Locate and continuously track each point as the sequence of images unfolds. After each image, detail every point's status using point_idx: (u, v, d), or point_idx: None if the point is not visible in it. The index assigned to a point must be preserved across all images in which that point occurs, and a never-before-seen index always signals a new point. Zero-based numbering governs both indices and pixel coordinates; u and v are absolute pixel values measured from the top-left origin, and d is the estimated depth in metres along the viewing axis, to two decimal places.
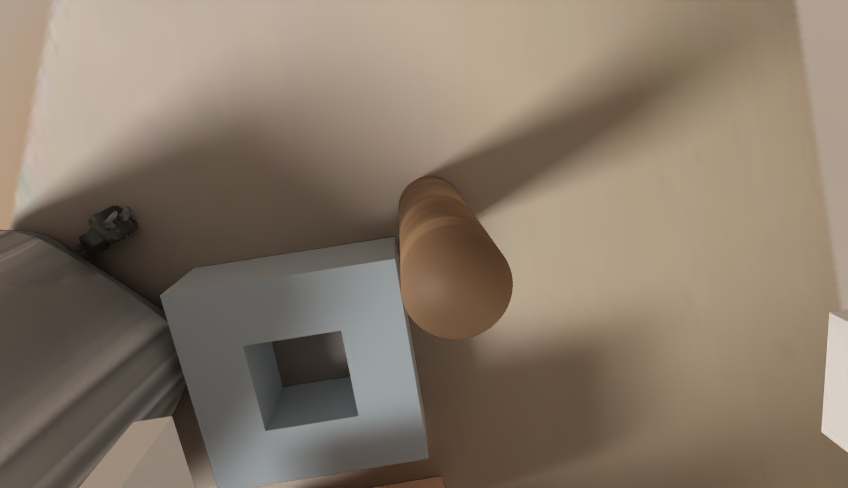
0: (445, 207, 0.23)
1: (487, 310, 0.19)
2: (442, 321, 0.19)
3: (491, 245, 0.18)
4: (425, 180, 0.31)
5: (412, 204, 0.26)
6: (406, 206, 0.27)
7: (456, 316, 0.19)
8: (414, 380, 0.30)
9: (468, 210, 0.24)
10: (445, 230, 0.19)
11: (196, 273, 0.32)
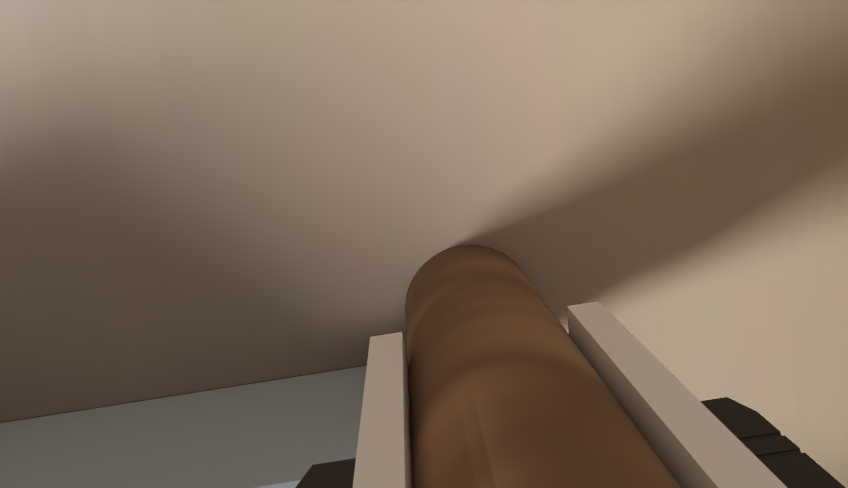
0: (588, 478, 0.06)
1: None
2: None
3: None
4: (463, 261, 0.14)
5: (446, 371, 0.09)
6: (428, 358, 0.11)
7: None
8: None
9: (638, 439, 0.07)
10: None
11: None
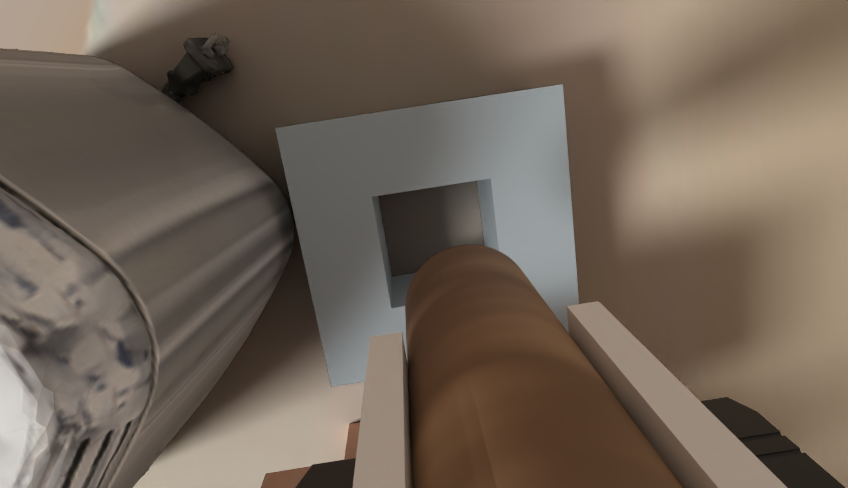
0: (589, 478, 0.06)
1: None
2: None
3: None
4: (463, 260, 0.14)
5: (446, 370, 0.09)
6: (427, 358, 0.10)
7: None
8: (573, 245, 0.25)
9: (639, 439, 0.07)
10: None
11: None
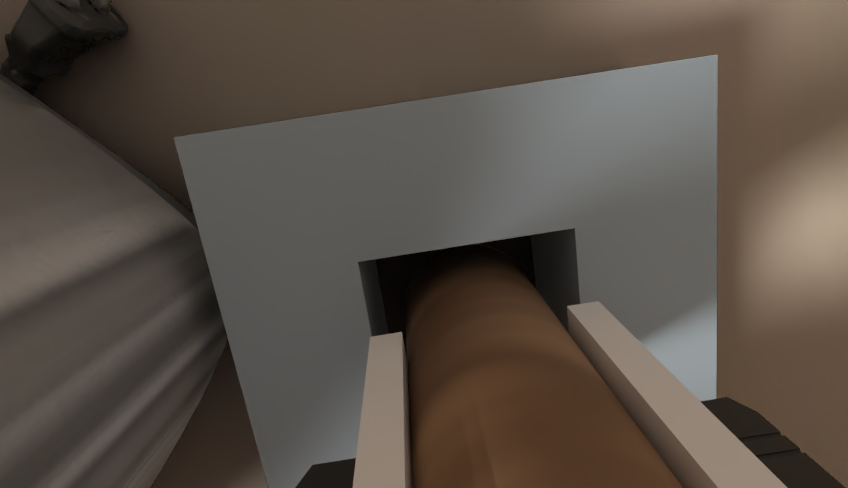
0: (589, 476, 0.06)
1: None
2: None
3: None
4: (463, 259, 0.14)
5: (446, 369, 0.09)
6: (427, 357, 0.11)
7: None
8: (713, 342, 0.14)
9: (639, 437, 0.07)
10: None
11: None
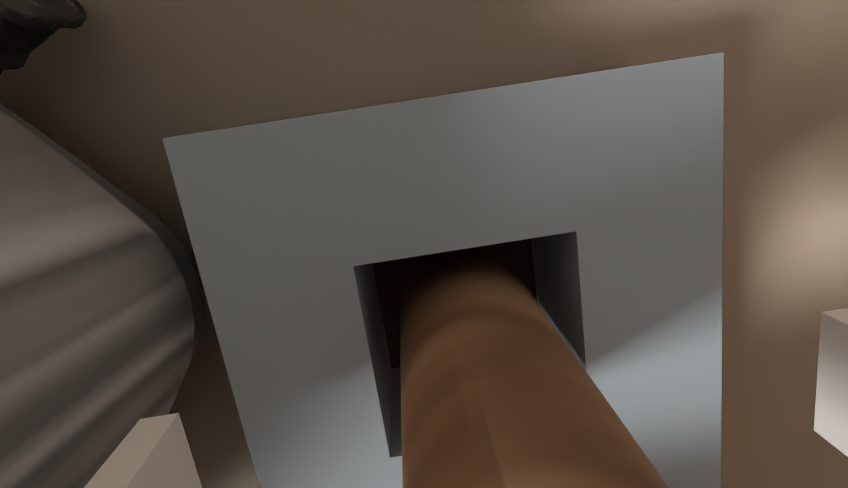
0: (530, 386, 0.08)
1: None
2: None
3: None
4: None
5: (430, 326, 0.11)
6: (416, 319, 0.13)
7: None
8: (719, 347, 0.14)
9: (577, 369, 0.09)
10: None
11: None
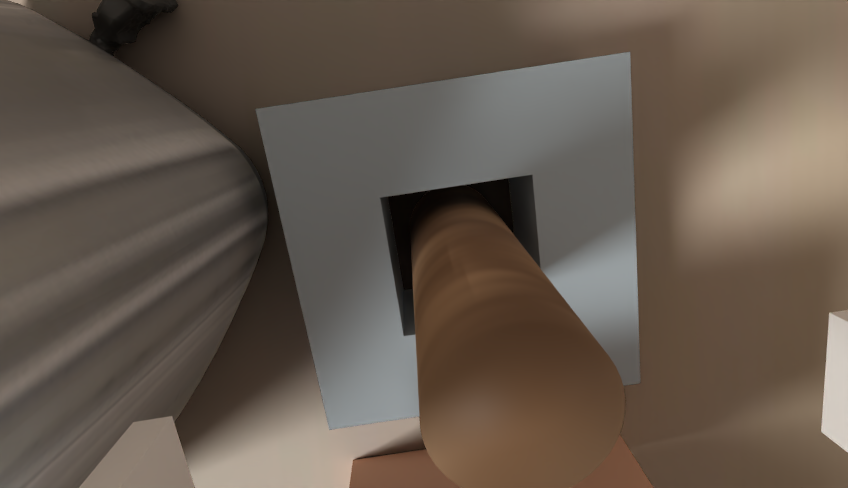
0: (488, 246, 0.14)
1: (576, 453, 0.10)
2: (493, 473, 0.10)
3: (591, 342, 0.10)
4: (447, 190, 0.22)
5: (432, 232, 0.17)
6: (422, 232, 0.19)
7: (519, 464, 0.10)
8: (634, 259, 0.20)
9: (520, 247, 0.15)
10: (501, 309, 0.10)
11: None
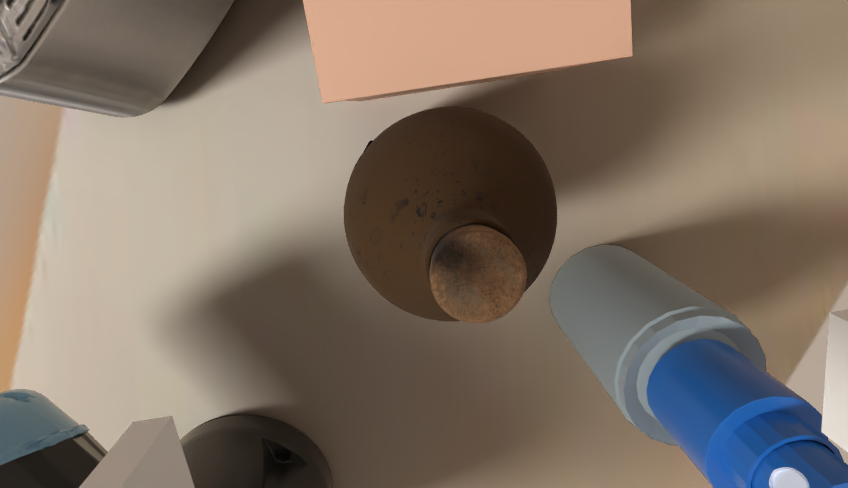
0: None
1: None
2: None
3: None
4: None
5: None
6: None
7: None
8: None
9: None
10: None
11: None
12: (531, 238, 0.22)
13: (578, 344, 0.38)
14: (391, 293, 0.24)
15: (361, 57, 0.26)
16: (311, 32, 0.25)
